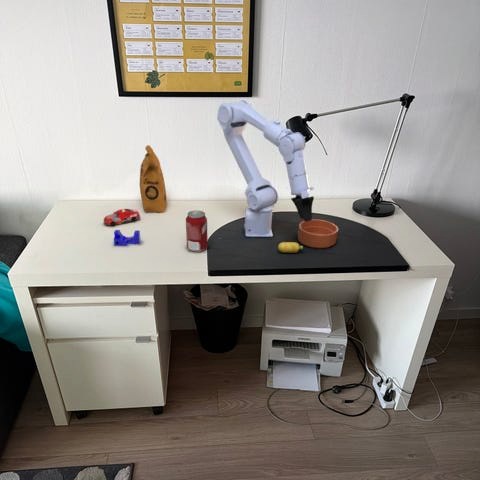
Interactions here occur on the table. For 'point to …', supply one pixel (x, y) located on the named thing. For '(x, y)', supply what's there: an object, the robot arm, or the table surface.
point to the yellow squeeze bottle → (289, 247)
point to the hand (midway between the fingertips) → (306, 219)
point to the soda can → (196, 231)
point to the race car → (122, 217)
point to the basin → (317, 233)
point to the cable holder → (126, 238)
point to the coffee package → (152, 183)
